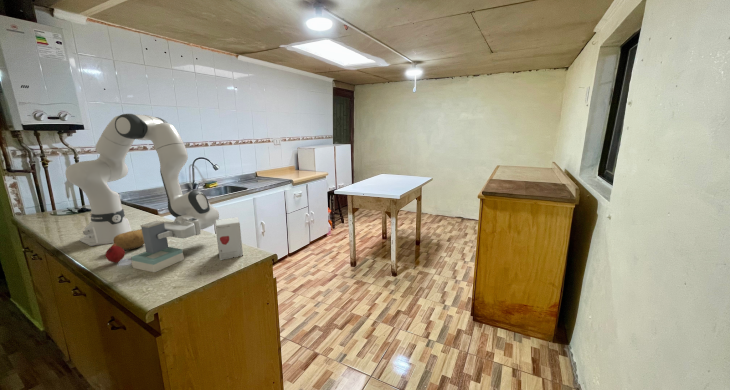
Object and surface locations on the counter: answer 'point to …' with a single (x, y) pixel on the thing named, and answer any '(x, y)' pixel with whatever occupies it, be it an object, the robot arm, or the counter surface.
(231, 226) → the supplement box
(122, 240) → the potato
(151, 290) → the counter surface
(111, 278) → the counter surface
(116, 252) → the onion
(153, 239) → the blue-grey box
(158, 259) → the display stand
